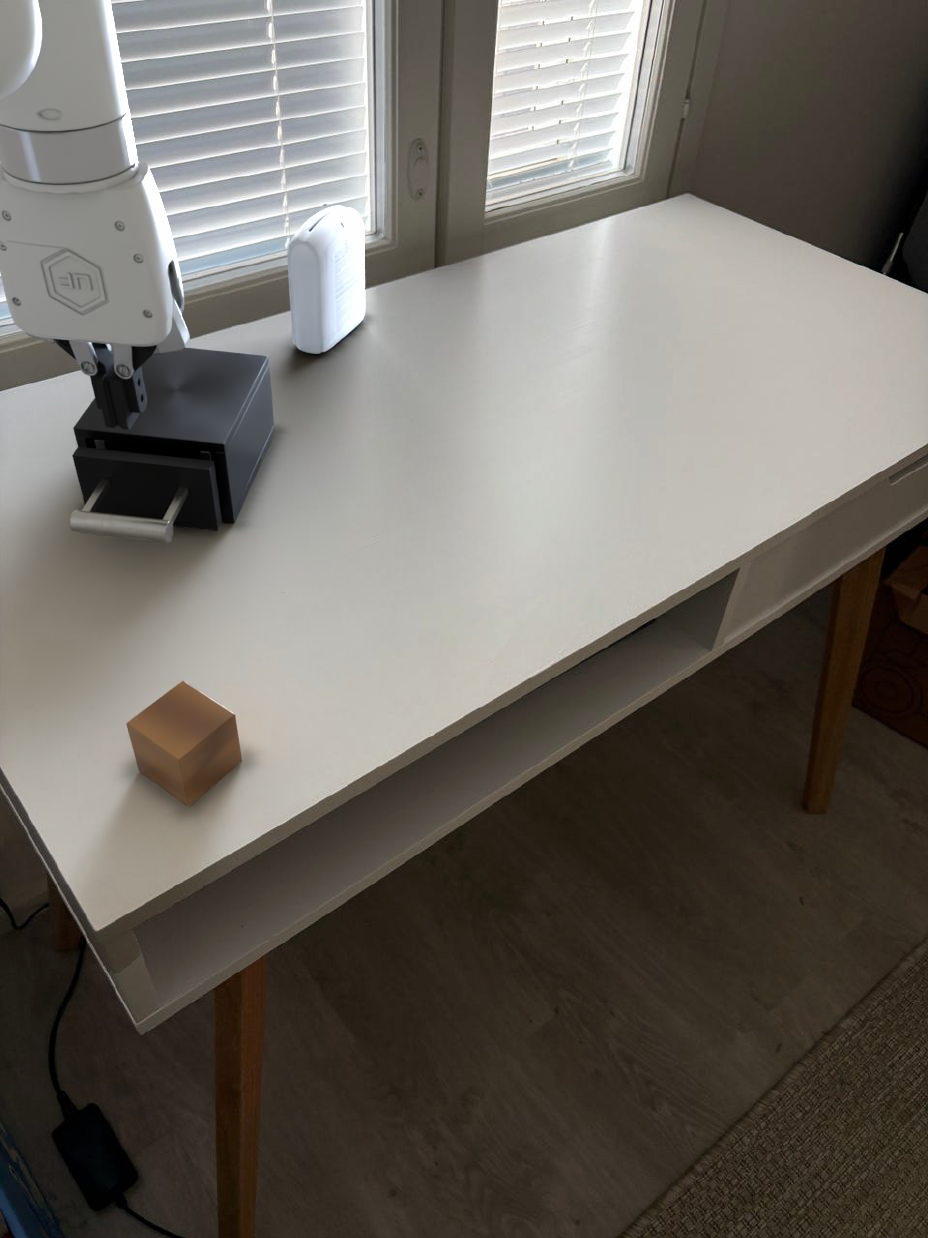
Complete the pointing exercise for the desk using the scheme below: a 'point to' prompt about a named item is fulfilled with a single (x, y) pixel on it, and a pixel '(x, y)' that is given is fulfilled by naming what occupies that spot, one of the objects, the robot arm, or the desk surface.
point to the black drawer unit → (201, 414)
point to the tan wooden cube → (185, 742)
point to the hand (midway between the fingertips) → (125, 417)
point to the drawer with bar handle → (145, 490)
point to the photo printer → (326, 278)
